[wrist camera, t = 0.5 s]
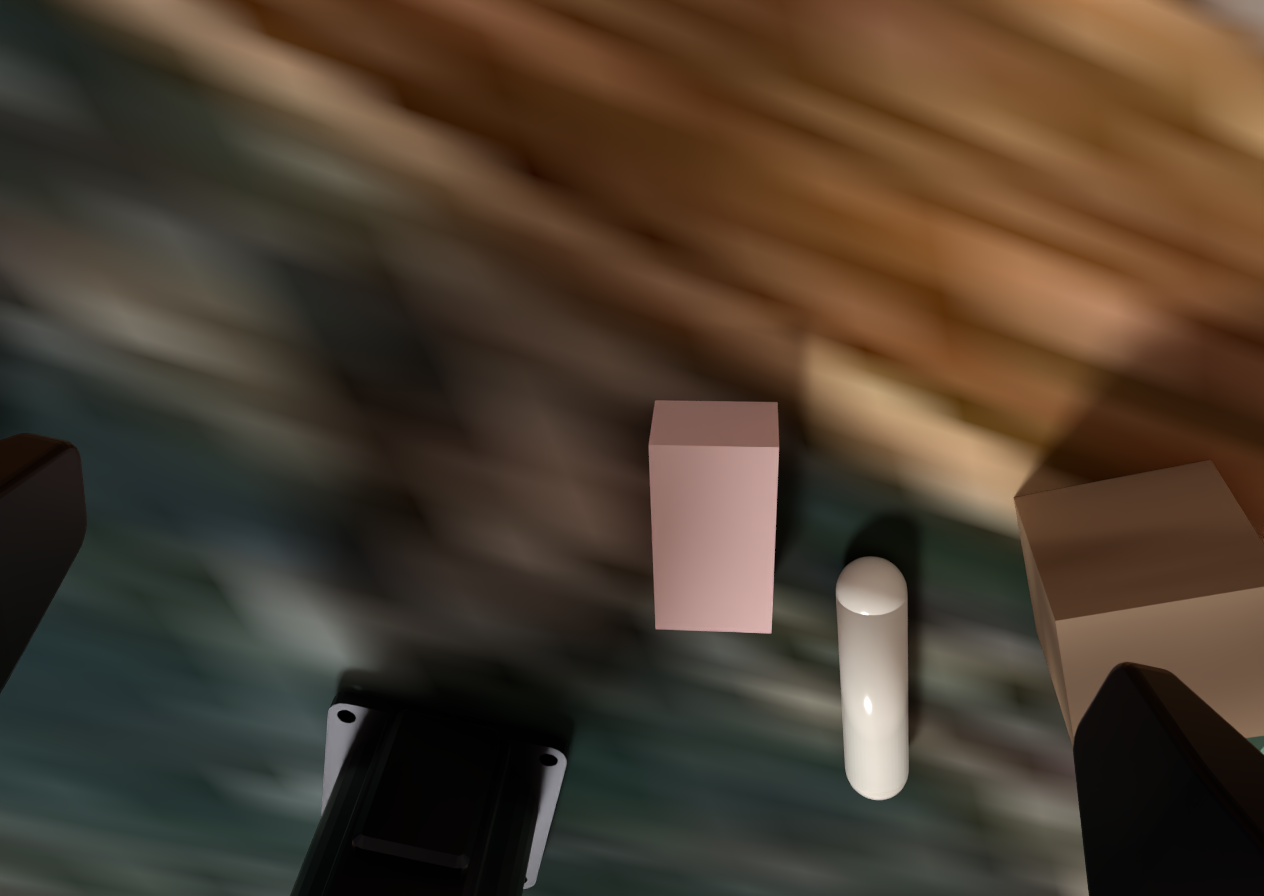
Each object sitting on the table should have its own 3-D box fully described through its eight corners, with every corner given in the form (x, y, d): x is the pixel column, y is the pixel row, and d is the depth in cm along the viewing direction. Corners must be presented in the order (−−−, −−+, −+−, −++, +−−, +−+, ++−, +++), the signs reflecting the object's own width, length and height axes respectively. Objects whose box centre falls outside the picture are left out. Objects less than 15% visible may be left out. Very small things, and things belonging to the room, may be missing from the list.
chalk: (904, 763, 29) (912, 812, 27) (843, 764, 29) (848, 814, 28) (902, 539, 25) (911, 586, 23) (832, 543, 25) (836, 589, 24)
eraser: (770, 575, 26) (771, 633, 24) (661, 572, 26) (655, 629, 24) (777, 395, 23) (779, 446, 21) (656, 393, 23) (648, 445, 22)
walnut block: (1216, 596, 25) (1289, 732, 21) (1035, 626, 26) (1077, 760, 22) (1209, 457, 23) (1287, 582, 19) (1012, 495, 24) (1055, 620, 20)
